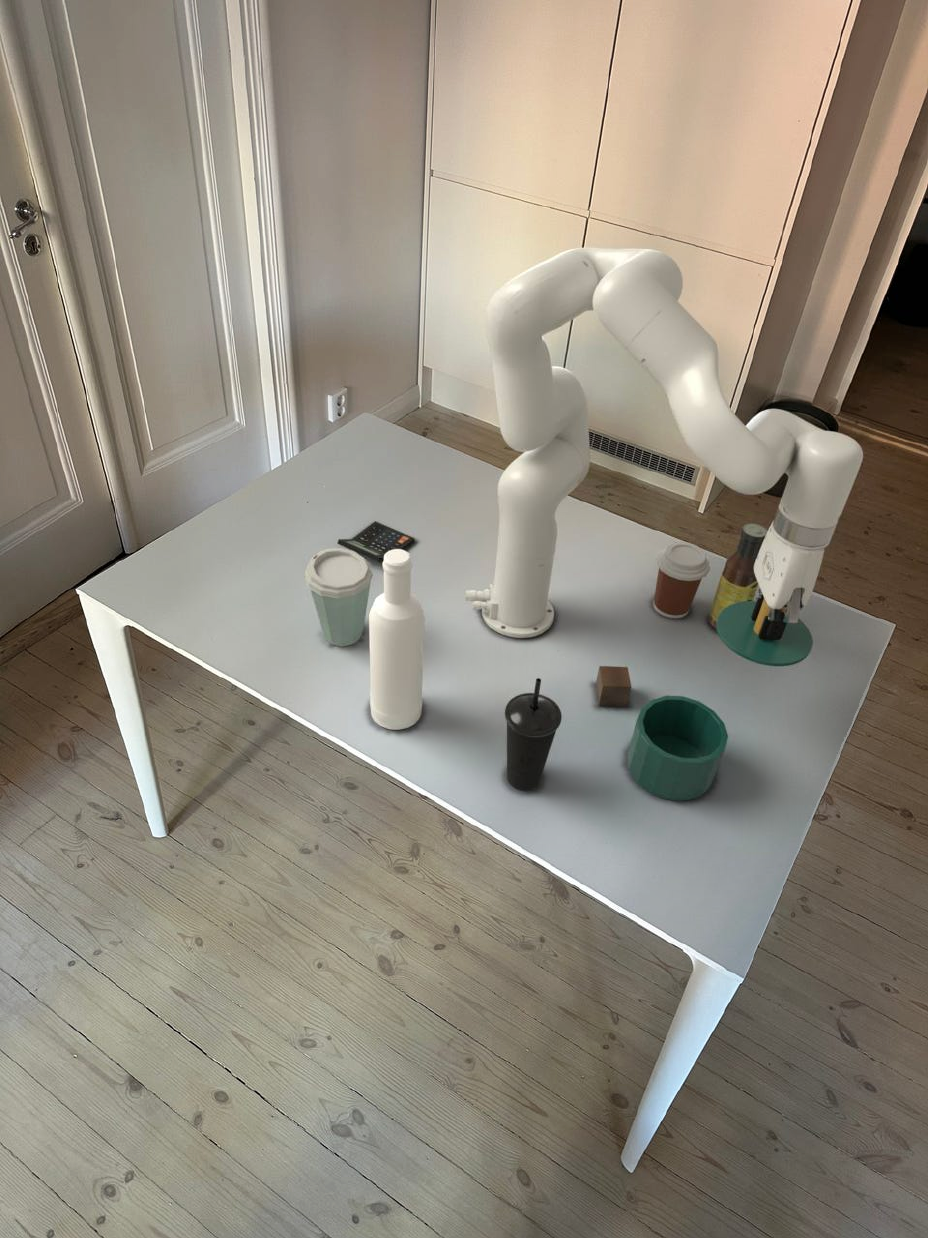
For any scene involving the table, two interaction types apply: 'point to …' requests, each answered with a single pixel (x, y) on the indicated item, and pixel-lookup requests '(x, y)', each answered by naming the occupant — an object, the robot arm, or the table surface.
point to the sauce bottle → (739, 572)
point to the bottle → (396, 647)
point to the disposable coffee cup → (340, 593)
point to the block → (613, 686)
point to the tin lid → (746, 643)
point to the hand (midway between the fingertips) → (765, 628)
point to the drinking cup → (529, 736)
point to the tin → (676, 747)
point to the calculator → (377, 541)
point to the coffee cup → (679, 578)
